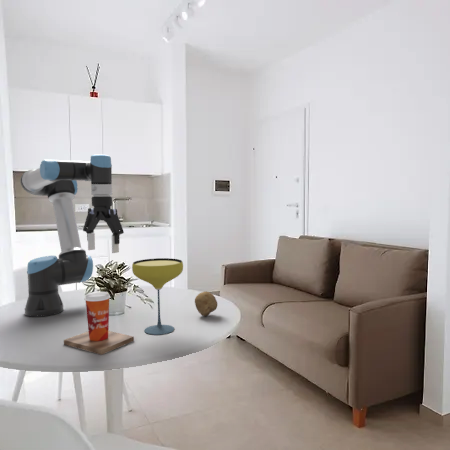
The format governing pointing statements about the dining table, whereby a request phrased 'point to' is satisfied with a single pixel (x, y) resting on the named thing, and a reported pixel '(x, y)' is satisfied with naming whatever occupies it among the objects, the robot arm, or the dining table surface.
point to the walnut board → (99, 342)
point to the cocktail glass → (158, 282)
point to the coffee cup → (98, 315)
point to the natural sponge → (205, 303)
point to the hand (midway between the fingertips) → (103, 251)
